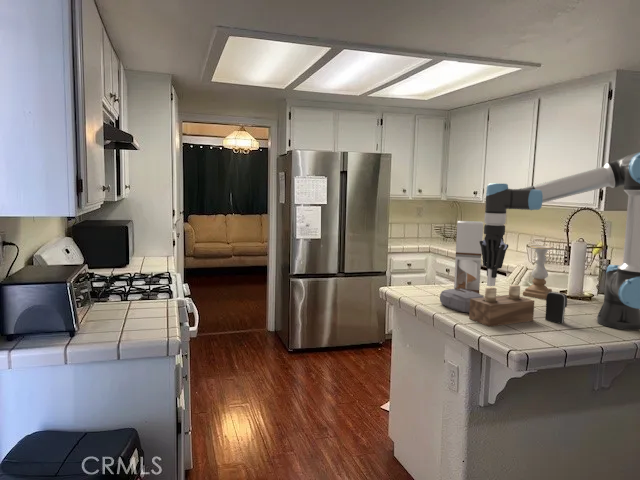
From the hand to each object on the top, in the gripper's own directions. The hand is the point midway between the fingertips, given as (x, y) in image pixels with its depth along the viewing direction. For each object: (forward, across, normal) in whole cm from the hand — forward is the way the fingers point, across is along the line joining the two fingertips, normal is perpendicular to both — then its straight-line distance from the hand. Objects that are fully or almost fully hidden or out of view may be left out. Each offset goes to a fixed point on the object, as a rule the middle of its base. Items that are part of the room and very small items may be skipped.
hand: (491, 285), depth 185 cm
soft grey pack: (+15, +19, -4) cm, 24 cm away
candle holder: (+14, +26, -54) cm, 62 cm away
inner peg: (+7, 0, -12) cm, 14 cm away
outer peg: (+7, 0, 0) cm, 7 cm away
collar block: (+14, 0, -6) cm, 15 cm away
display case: (+14, +38, -21) cm, 46 cm away
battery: (+14, -9, -25) cm, 30 cm away
